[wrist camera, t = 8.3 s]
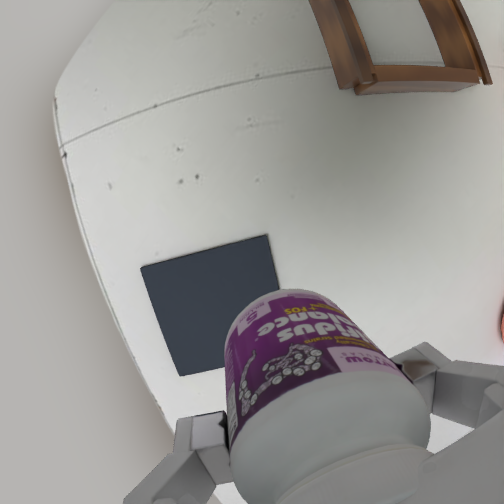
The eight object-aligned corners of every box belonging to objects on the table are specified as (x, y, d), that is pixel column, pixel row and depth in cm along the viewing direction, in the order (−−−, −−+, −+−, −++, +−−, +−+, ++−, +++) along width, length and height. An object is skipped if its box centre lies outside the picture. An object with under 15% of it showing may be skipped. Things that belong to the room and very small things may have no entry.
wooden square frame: (292, -34, 24) (303, -63, 18) (416, -22, 25) (437, -41, 19) (340, 98, 27) (364, 81, 22) (462, 92, 28) (493, 84, 23)
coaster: (141, 267, 29) (139, 268, 28) (265, 234, 29) (266, 235, 29) (179, 374, 31) (179, 376, 31) (291, 347, 32) (292, 349, 31)
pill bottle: (340, 271, 13) (522, 407, 3) (348, 376, 14) (453, 533, 4) (209, 299, 12) (204, 529, 3) (236, 403, 14) (264, 598, 4)
